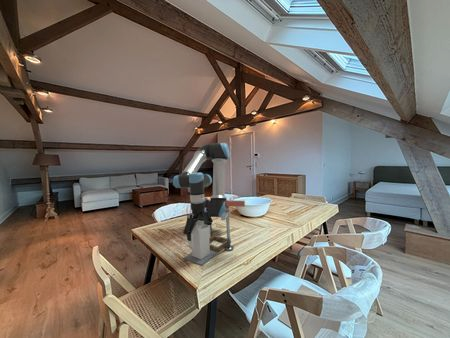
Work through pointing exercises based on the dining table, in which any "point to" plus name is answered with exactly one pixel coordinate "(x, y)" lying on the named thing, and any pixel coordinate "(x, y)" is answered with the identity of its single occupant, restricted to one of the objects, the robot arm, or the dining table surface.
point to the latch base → (229, 248)
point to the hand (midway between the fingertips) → (200, 241)
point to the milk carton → (200, 240)
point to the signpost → (227, 213)
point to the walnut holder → (222, 246)
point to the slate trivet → (200, 261)
